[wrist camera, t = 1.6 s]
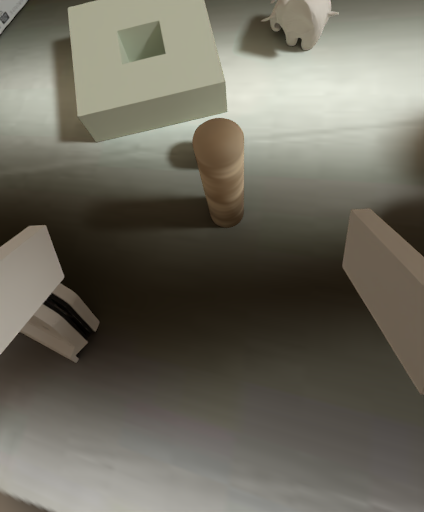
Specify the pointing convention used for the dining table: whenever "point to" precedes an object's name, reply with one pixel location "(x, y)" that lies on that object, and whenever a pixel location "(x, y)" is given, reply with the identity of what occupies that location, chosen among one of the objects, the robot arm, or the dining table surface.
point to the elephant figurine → (301, 20)
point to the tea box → (9, 11)
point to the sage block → (143, 65)
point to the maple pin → (221, 169)
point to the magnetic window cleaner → (62, 323)
